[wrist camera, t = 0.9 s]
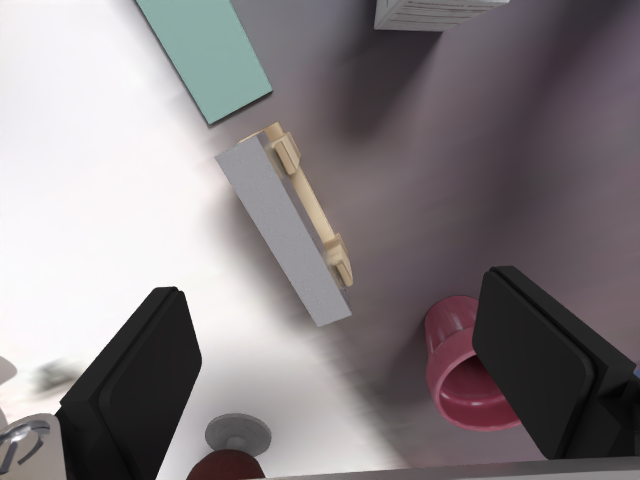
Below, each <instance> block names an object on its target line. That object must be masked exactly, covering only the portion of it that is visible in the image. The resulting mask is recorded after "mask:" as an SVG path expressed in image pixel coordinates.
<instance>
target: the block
mask: <svg viewBox="0 0 640 480" xmlns="http://www.w3.org/2000/svg"><path fill="white" fill-rule="evenodd" d="M215 159H216V160H217V162H218V164H219V165H220V167H221V169H222V170H223V172H224V174H225V175H226V177H227V179H228V180H229V182H230V184H231V185H232V187H233V188H234V190H235V192H236V193H237V195H238V197H239V198H240V200H241V202H242V203H243V205H244V207H245V208H246V210H247V211H248V213H249V215H250V216H251V218H252V220H253V221H254V223H255V225H256V226H257V228H258V230H259V231H260V233H261V235H262V236H263V238H264V239H265V241H266V243H267V244H268V246H269V248H270V249H271V251H272V253H273V254H274V256H275V258H276V259H277V261H278V263H279V264H280V266H281V267H282V269H283V271H284V272H285V274H286V276H287V277H288V279H289V281H290V282H291V284H292V286H293V287H294V289H295V290H296V292H297V294H298V295H299V297H300V299H301V300H302V302H303V304H304V305H305V307H306V309H307V310H308V312H309V314H310V315H311V317H312V318H313V320H314V322H315V323H316V325H317V327H321V326H323V325H326V324H329V323H331V322H334V321H337V320H340V319H342V318H345V317H348V316H350V315H352V310H351V303H350V296H349V292H348V290H347V288H346V286H345V284H344V282H343V280H342V278H341V276H340V275H339V273H338V271H337V269H336V267H335V265H334V263H333V261H332V259H331V257H330V255H329V253H328V252H327V250H326V248H325V246H324V244H323V242H322V240H321V238H320V236H319V234H318V232H317V230H316V228H315V227H314V225H313V223H312V221H311V219H310V217H309V215H308V213H307V211H306V209H305V207H304V205H303V204H302V202H301V200H300V198H299V196H298V194H297V192H296V190H295V188H294V186H293V184H292V182H291V181H290V179H289V177H288V175H287V173H286V171H285V169H284V167H283V165H282V163H281V161H280V159H279V157H278V156H277V154H276V152H275V150H274V148H273V146H272V144H271V142H270V140H269V138H268V136H267V134H266V133H265V131H262V132H260V133H258V134H256V135H254V136H252V137H250V138H248V139H246V140H244V141H242V142H240V143H238V144H237V145H235V146H233V147H231V148H229V149H227V150H225V151H224V152H222V153H220V154H219V155H217V156H216V157H215Z"/></svg>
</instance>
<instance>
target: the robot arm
mask: <svg viewBox="0 0 640 480" xmlns="http://www.w3.org/2000/svg"><path fill="white" fill-rule="evenodd" d="M472 346H473V349H474V351H475V353H476V355H477V356H478V358H479V359H480V361H481V362H482V364H483V365H484V367H485V368H486V370H487V371H488V373H489V374H490V376H491V377H492V379H493V380H494V382H495V383H496V385H497V386H498V388H499V389H500V391H501V392H502V394H503V395H504V397H505V398H506V400H507V401H508V403H509V404H510V406H511V407H512V409H513V411H514V412H515V414H516V415H517V417H518V418H519V420H520V421H521V423H522V424H523V426H524V427H525V429H526V430H527V432H528V433H529V435H530V436H531V438H532V439H533V441H534V442H535V444H536V445H537V447H538V448H539V450H540V451H541V453H542V454H543V455H544V456H545V457H546V458H547V459H549V460H542V461H525V462H508V463H492V464H475V465H458V466H442V467H426V468H411V469H395V470H380V471H365V472H350V473H335V474H320V475H305V476H290V477H276V478H263V479H249V480H640V379H639V378H638V377H637V376H635V375H634V374H633V372H634V370H635V368H636V364H635V363H634V362H632V361H631V360H630V359H629V358H627V357H626V356H625V355H624V354H622V353H621V352H620V351H619V350H617V349H616V348H615V347H614V346H612V345H611V344H610V343H609V342H607V341H606V340H605V339H604V338H602V337H601V336H600V335H599V334H597V333H596V332H595V331H594V330H593V329H591V328H590V327H589V326H588V325H586V324H585V323H584V322H583V321H581V320H580V319H579V318H578V317H576V316H575V315H574V314H573V313H571V312H570V311H569V310H568V309H566V308H565V307H564V306H563V305H561V304H560V303H559V302H558V301H556V300H555V299H554V298H553V297H551V296H550V295H549V294H548V293H546V292H545V291H544V290H543V289H541V288H540V287H539V286H538V285H536V284H535V283H534V282H533V281H532V280H530V279H529V278H528V277H527V276H525V275H524V274H523V273H522V272H520V271H519V270H518V269H517V268H515V267H514V266H498V267H492V268H490V270H489V272H486V273H485V274H484V276H483V281H482V287H481V292H480V298H479V303H478V308H477V314H476V319H475V325H474V330H473V335H472ZM201 365H202V357H201V353H200V349H199V345H198V342H197V338H196V334H195V331H194V327H193V323H192V320H191V316H190V312H189V309H188V305H187V301H186V298H185V294H184V292H183V291H179V290H178V288H177V287H175V286H173V287H157V288H155V289H153V290H152V292H151V293H150V294H149V295H148V296H147V298H146V299H145V300H144V301H143V302H142V304H141V305H140V306H139V307H138V308H137V310H136V311H135V312H134V313H133V314H132V316H131V317H130V318H129V319H128V320H127V322H126V323H125V324H124V325H123V326H122V328H121V329H120V330H119V331H118V332H117V334H116V335H115V336H114V337H113V338H112V339H111V341H110V342H109V343H108V344H107V345H106V347H105V348H104V349H103V350H102V351H101V353H100V354H99V355H98V356H97V357H96V359H95V360H94V361H93V362H92V363H91V365H90V366H89V367H88V368H87V369H86V371H85V372H84V373H83V374H82V375H81V377H80V378H79V379H78V380H77V381H76V383H75V384H74V385H73V386H72V387H71V389H70V390H69V391H68V392H67V393H66V395H65V396H64V397H63V398H62V399H61V401H60V404H61V408H60V409H59V410H58V411H57V412H56V414H55V415H52V414H47V413H40V414H35V415H31V416H27V417H25V418H22V419H20V420H18V421H15V422H13V423H11V424H10V425H8V426H6V427H4V428H3V429H1V430H0V480H155V479H156V477H157V475H158V472H159V470H160V467H161V465H162V462H163V460H164V457H165V455H166V453H167V450H168V448H169V445H170V443H171V440H172V438H173V435H174V433H175V430H176V428H177V426H178V423H179V421H180V418H181V416H182V413H183V411H184V408H185V406H186V404H187V401H188V399H189V396H190V394H191V391H192V389H193V386H194V384H195V381H196V379H197V377H198V374H199V372H200V369H201Z"/></svg>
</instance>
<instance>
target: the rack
mask: <svg viewBox="0 0 640 480" xmlns="http://www.w3.org/2000/svg"><path fill="white" fill-rule="evenodd" d="M262 131H265V133H266V134H267V136H268V138H269V140H270V142H271V144H272V146H273V148H274V150H275V152H276V154H277V156H278V157H279V159H280V161H281V163H282V165H283V167H284V169H285V171H286V173H287V175H288V177H289V179H290V181H291V182H292V184H293V186H294V188H295V190H296V192H297V194H298V196H299V198H300V200H301V202H302V204H303V205H304V207H305V209H306V211H307V213H308V215H309V217H310V219H311V221H312V223H313V225H314V227H315V228H316V230H317V232H318V234H319V236H320V238H321V240H322V242H323V244H324V246H325V248H326V250H327V252H328V253H329V255H330V257H331V259H332V261H333V263H334V265H335V267H336V269H337V271H338V273H339V275H340V276H341V278H342V280H343V282H344V283H346V285H347V287H348V286H351V285H353V281H352V280H353V278H352V272H351V267H350V261H349V255H348V251H347V249H346V247H345V244H344V242H343V240H342V238H341V236H340V234H339V233H338V234H334V232H333V230H332V228H331V226H330V224H329V222H328V220H327V218H326V216H325V214H324V212H323V210H322V208H321V206H320V204H319V202H318V200H317V198H316V196H315V194H314V192H313V190H312V188H311V186H310V184H309V182H308V180H307V178H306V176H305V174H304V172H303V170H302V168H301V166H300V164H299V161H300V158H301V155H300V153H299V150H298V148H297V146H296V144H295V142H294V140H293V138H292V136H291V134H290V132H287V133H285V134H284V132H283V130H282V128H281V126H280V124H279V122H276V123H274V124H272V125H270V126H268V127H266V128H264V129H262V130H261V131H259V132H257V133H255V134H253V135H251V136H249V137H247V138H245V139H243V140H241V141H239V142H238V143H240V142H242V141H244V140H246V139H248V138H250V137H252V136H254V135H256V134H258V133H260V132H262Z"/></svg>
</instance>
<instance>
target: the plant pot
mask: <svg viewBox="0 0 640 480" xmlns="http://www.w3.org/2000/svg"><path fill="white" fill-rule="evenodd" d="M478 303H479V301H478V300H476V299H474V298H472V297H468V296H451V297H448V298H445V299H443V300H441V301H439V302H438V303H436V304H435V305H434V306H433V307H432V308H431V309H430V310H429V311H428V313H427V315H426V317H425V322H424V326H425V335H426V344H427V352H428V359H429V360H428V363H427V367H426V381H427V385H428V388H429V391H430V393H431V396H432V398H433V401H434V403H435V406H436V408H437V410H438V411H439V413H440V414H441V415H442V417H443V418H444V419H446V420H447V421H448V422H450V423H451V424H453V425H455V426H457V427H460V428H463V429H467V430H473V431H496V430H503V429H507V428H511V427H514V426H517V425H520V424H522V423H521V421H520V420H519V418H518V417H517V415H516V414H515V412H514V411H513V409H512V407H511V406H510V404H509V403H508V401H507V400H506V398H505V397H504V395H503V394H502V392H501V391H500V389H499V388H498V386H497V385H496V383H495V382H494V380H493V379H492V377H491V376H490V374H489V373H488V371H487V370H486V368H485V367H484V365H483V364H482V362H481V361H480V359H479V358H478V356H477V355H476V353H475V351H474V349H473V346H472V335H473V330H474V325H475V319H476V314H477V308H478Z"/></svg>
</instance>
